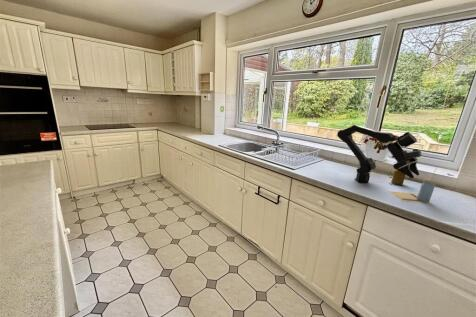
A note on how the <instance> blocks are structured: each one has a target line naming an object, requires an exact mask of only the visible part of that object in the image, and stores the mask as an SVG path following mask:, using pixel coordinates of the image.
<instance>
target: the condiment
mask: <svg viewBox="0 0 476 317" xmlns="http://www.w3.org/2000/svg"><path fill="white" fill-rule="evenodd" d="M398 169H399V168H398ZM398 169H396V170H395V169H394V171H393V174H392V178H391V181H390V182H389V184H391V185H393V186H398V187H408V185H407V184H404V181H405V178H406V175H405V174H403V173H402V172H400V171H397V170H398Z"/></svg>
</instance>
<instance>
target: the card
mask: <svg viewBox="0 0 476 317" xmlns="http://www.w3.org/2000/svg"><path fill="white" fill-rule="evenodd" d="M388 193H389V194H391V195H393V196H394V197H396V199H399V200H400V201H401V202H403V203H413V204H427V205H433V203H432V202H431V201H429V203H423V202H420V201H418V200H417V197H418V194H417V193H415V192H405V191H391V190H388Z"/></svg>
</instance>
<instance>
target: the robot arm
mask: <svg viewBox="0 0 476 317" xmlns="http://www.w3.org/2000/svg"><path fill="white" fill-rule="evenodd" d="M354 133H359V134H361V135H365V136H367V137H372V138H373V139H375V140H376V141H378V142H380V143H382V144H383V147H382V150H386V149H387V150H388V152H389V153H390V154H391V158H392V159H394V160H395V161H396V162H395V163H394V164H393V166H392V167H393V168H394V171H395V170H396V169H398V168H399V169H398V170H397V171H400V172H402V173H403V174H405V176H407V177H409V178H410V179H414V178H415V176H414V175H416V176H420V172H419V169H418V167H417V164H418V158H420V157H422V151H421V150H419V149H418V148H414V149H412V151H407V150H404V149H403V147H404V148H408V147H410V146H412V145H413V144H416V143H417V142H418V140H417V138H416V136H415V135H413V134H412V133H410V131H406V132H405V133H404V134H402V135H400V136H397V135H394V134H393V133H392V132H387V131H378V130H374V129H371V128H368V127H366V126H365V127H364V126H361V125H359V124H353V125H352V126H349V127H347V128H344V129H339V130H338V131H337V135H336V136H337V137H338V138H339V139H340V140H341V141H342V142H343V143H344V144H346V145H347V147H348V148H349V150H351V152H352V153H353V155H354V156H355V158H356V159H357V160H358V163H359V167H358V168H356V177H355V178H354V180H355V181H356V182H358V184H370V182H369V181H370V178H371V173H372V171H374V170H376V167H377V165H376V162H375V161H374V159H373V158H372V157H370V158H368V157H367V156H366V155H365V153H364V152H363V151H362V150H361V148H360V147H359V145H357V143H356V142H355V140H354V138H353V134H354Z"/></svg>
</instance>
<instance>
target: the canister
mask: <svg viewBox="0 0 476 317" xmlns="http://www.w3.org/2000/svg"><path fill="white" fill-rule="evenodd" d="M436 184H437V180H435V179H432V178H427V177H423V179H422V183H421V185H420V189H419V192H418V194H417V195H418V197H417V200H418V201H420V202H423V203H422V204H424V203H429V202H431V198H432V195H433V192H434V189H435V188H436Z"/></svg>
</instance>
